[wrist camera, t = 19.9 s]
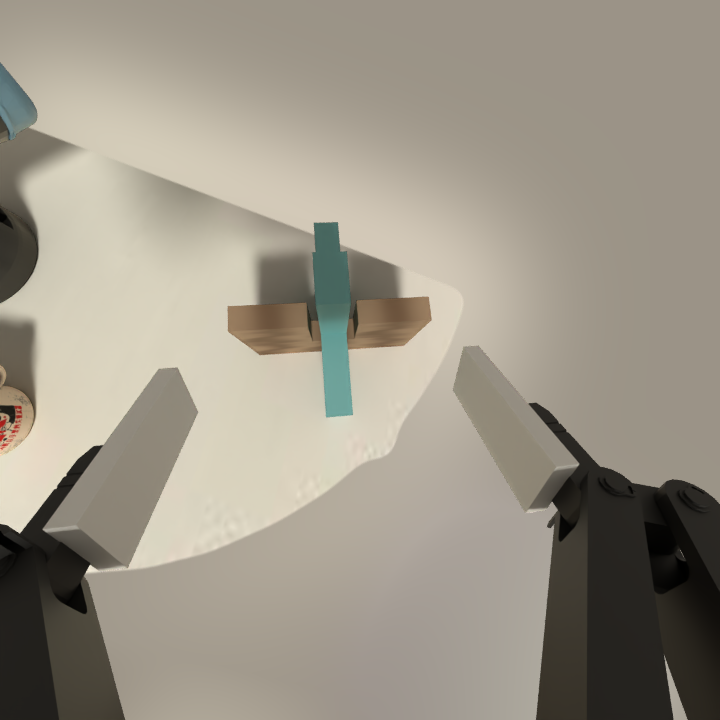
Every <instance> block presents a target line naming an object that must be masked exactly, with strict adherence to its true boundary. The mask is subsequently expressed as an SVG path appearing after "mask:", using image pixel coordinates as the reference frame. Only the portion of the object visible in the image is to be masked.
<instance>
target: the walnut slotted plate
mask: <svg viewBox="0 0 720 720" xmlns="http://www.w3.org/2000/svg"><path fill="white" fill-rule="evenodd" d="M431 320H432V319H431V311H430V304H429V297H414V298H393V299H372V300H357V301H356V305H355V310H354V315H353V319H349V320H348V326H347V346H348V349H360V348H375V347H391V346H404V345H405V344H406V343H407V342H408V341H409V340H410V339H412V338H413V337H414V336H415V335H416V334H417V333H418V332H419V331H420V330H421V329H422V328H423V327H425V326H426V325H427V324H428V323H429V322H430V321H431ZM228 332H229V333H231V334H232V335H234V336H235V337H236V338H238V339H239V340H240V341H242V342H243V343H244V344H246V345H247V346H248V347H250V348H251V349H253V350H254V351H255V352H257V353H258V354H259V355H268V354H283V353H298V352H314V351H322V343H321V332H320V326H319V321H311V318H310V314H309V311H308V307H307V303H289V304H268V305H247V306H228Z"/></svg>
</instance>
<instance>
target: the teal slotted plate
mask: <svg viewBox="0 0 720 720" xmlns="http://www.w3.org/2000/svg"><path fill="white" fill-rule="evenodd" d="M314 231H315V248H316V252H312V253H313V270H314V286H315V302H316V310H317V315H318V321H319V326H320V332H321V343H322V359H323V375H324V390H325V406H326V417H336V416H347V415H353V410H352V397H351V384H350V371H349V359H348V346H347V326H348V320H349V313H350V307H351V297H350V285H349V272H348V260H347V251H344V252H340V243H339V231H338V222H333V223H314Z"/></svg>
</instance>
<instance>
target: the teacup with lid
mask: <svg viewBox="0 0 720 720" xmlns="http://www.w3.org/2000/svg"><path fill="white" fill-rule="evenodd" d="M5 379H6V371H5V369H4V368H3V367H2V366H1V365H0V456H1V455H3V454H5V453H7V452H9V451H11V450H13V449H14V448H16V447H17V446H18V445H19V444H20V443H21V442H22V441H23V440H24V439H25V438H26V436H27V435H28V433H29V431H30V429H31V427H32V424H33V418H34V411H33V407H32V404H31V402H30V400H29V399H28V397H27V396H26V395H25V394H24V393H23V392H21V391H20V390H18V389H16V388H13V387H9V386H3V384H4V382H5Z"/></svg>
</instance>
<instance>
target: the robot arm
mask: <svg viewBox="0 0 720 720" xmlns="http://www.w3.org/2000/svg"><path fill="white" fill-rule="evenodd" d="M36 120H37V110H36V108H35V106H34V104H33V102H32V101H31V99H30V98H29V97H28V95H27V94H26V93H25V92H24V91H23V89H22V88H21V87H20V86H19V84H18V83H17V82H16V81H15V80H14V78H13V77H12V76H11V75H10V74H9V72H8V71H7V70H6V69H5V68H4V66H3V65H2V64H1V63H0V144H1V143H3V142H5V141H7V140H13V139H14V138H15V137H16V134H17V133H19V132H21V131H22V130H24V129H26V128H28V127H29V126H31V125H33V124H34V123H35V122H36ZM36 257H37V245H36V241H35V237H34V235H33V233H32V231H31V229H30V228H29V226H28V225H27V224H26V223H25V222H24V221H23V220H22V219H21V218H19V217H18V216H16V215H15V214H13V213H12V212H10V211H8V210H7V209H5V208H3V207H2V206H0V303H1V302H3V301H5V300H6V299H8V298H9V297H11V296H12V295H13V294H15V293H16V292H17V291H18V290H19V289H20V288H21V287H22V286H23V285H24V284H25V282H26V281H27V280H28V278H29V276H30V275H31V273H32V271H33V268H34V266H35V262H36ZM453 391H454V392H455V394H456V396H457V398H458V399H459V401H460V403H461V404H462V406H463V408H464V409H465V411H466V413H467V415H468V416H469V418H470V419H471V421H472V423H473V424H474V427H475V428H476V430H477V432H478V433H479V435H480V436H481V438H482V440H483V442H484V444H485V445H486V447H487V449H488V450H489V452H490V454H491V455H492V457H493V459H494V460H495V462H496V464H497V466H498V467H499V469H500V471H501V472H502V474H503V476H504V478H505V479H506V481H507V483H508V484H509V486H510V488H511V490H512V491H513V493H514V495H515V496H516V498H517V500H518V501H519V503H520V505H521V507H522V508H523V510H524V512H525V513H530V512H538V511H544V510H546V509H547V508H548V506H549V505H550V503H551V502H553V503H554V505H555V506H556V507H557V509H558V511H557V512H556V514H555V515H554V516H553V517H552V519H551V520H550V521H549V523H548V525H547V527H548V528H551V527H552V526H553V525H554V535H553V547H552V556H551V567H550V578H549V588H548V598H547V609H546V620H545V632H544V641H543V652H542V663H541V673H540V684H539V694H538V705H537V715H536V720H673V713H672V707H671V701H670V693H669V686H668V680H667V673H666V666H665V660H664V656H665V658H666V661H667V664H668V667H669V669H670V672H671V675H672V677H673V680H674V683H675V686H676V689H677V691H678V694H679V697H680V700H681V703H682V705H683V708H684V711H685V713H686V716H687V719H688V720H720V504H719V503H718V502H717V501H716V500H715V499H714V498H713V497H712V496H710V495H709V494H708V493H707V492H705V491H704V490H702V489H700V488H699V487H697V486H695V485H693V484H690V483H688V482H685V481H682V480H673V479H672V480H669V481H666V482H665V483H664V484H663V485H662V486H661V487H660V488H656V487H651V486H645V485H640V484H634V483H631V482H630V481H629V480H628V479H627V478H625V477H624V476H623V475H621V474H620V473H618V472H615V471H614V470H611V469H608V468H604V467H600V466H599V465H598V464H597V463H596V462H595V461H594V460H593V459H592V458H591V457H590V456H589V454H587V452H586V451H585V450H584V449H583V448H582V447H581V446H580V445H579V443H578V442H577V441H576V440H575V439H574V438H573V437H572V436H571V435H570V434H569V433H568V432H566V429H565V428H564V427H563V426H562V425H561V424H559V423H558V421H557V419H556V418H555V417H554V416H553V415H552V414H551V413H550V412H549V411H548V410H546V409H545V408H543V407H542V406H540V405H539V404H537V403H529V404H528V403H527V402H526V401H525V400H524V399H523V397H522V396H521V395H520V394H519V393H518V391H517V390H516V389H515V388H514V387H513V385H512V384H511V383H510V382H509V381H508V380H507V379H506V377H505V376H504V375H503V374H502V373H501V372H500V370H499V369H498V368H497V367H496V366H495V365H494V363H493V362H492V361H491V360H490V359H489V357H488V356H487V355H486V354H485V353H484V352H483V350H482V349H481V348H480V347H479V346H470V347H463V351H462V355H461V359H460V363H459V367H458V372H457V375H456V379H455V383H454V387H453ZM197 414H198V411H197V409H196V406H195V404H194V402H193V400H192V398H191V396H190V393H189V391H188V389H187V387H186V385H185V383H184V381H183V378H182V376H181V374H180V372H179V370H178V368H165V369H159V370H158V371H157V372H156V374H155V375H154V376H153V378H152V379H151V381H150V382H149V383H148V385H147V386H146V387H145V389H144V390H143V392H142V393H141V394H140V396H139V397H138V398H137V400H136V401H135V403H134V404H133V405H132V407H131V408H130V409H129V411H128V412H127V414H126V415H125V416H124V418H123V419H122V420H121V422H120V423H119V425H118V426H117V427H116V429H115V430H114V432H113V433H112V434H111V436H110V437H109V438H108V440H107V441H106V443H105V444H104V445H101V446H94V447H92V448H91V449H90V450H89V451H87V452H86V453H85V454H84V455H83V456H81V457H80V458H79V459H78V460H77V461H76V462H75V464H74V465H73V466H72V467H71V469H70V470H69V471H68V473H67V476H66V477H64V478H63V479H62V480H61V482H60V483H59V484H58V485H57V489H54V491H53V492H52V493H51V494H50V496H49V497H48V498H47V500H46V501H45V502H44V503H43V505H42V506H41V507H40V509H39V510H38V511H37V513H36V514H35V515H34V516H33V518H32V519H31V520H30V522H29V523H28V524H27V525H26V527H25V528H24V529H23V531H22V532H21V533H20V534H19V533H18V532H16V531H15V530H13V529H12V528H10V527H9V526H7V525H3V524H0V720H125V718H124V714H123V710H122V707H121V703H120V700H119V695H118V692H117V688H116V684H115V681H114V677H113V673H112V669H111V666H110V662H109V658H108V654H107V651H106V647H105V643H104V640H103V636H102V632H101V628H100V625H99V621H98V618H97V613H96V610H95V606H94V602H93V599H92V595H91V592H90V587H89V584H88V582H87V580H86V579H85V577H83V576H84V574H85V573H86V571H87V569H88V567H89V565H92V566H93V567H94V568H96V569H97V570H98V571H100V572H104V571H111V570H119V569H126V568H128V566H129V564H130V562H131V560H132V557H133V555H134V553H135V551H136V548H137V546H138V544H139V542H140V540H141V537H142V535H143V533H144V531H145V529H146V526H147V524H148V522H149V520H150V517H151V515H152V513H153V511H154V509H155V506H156V504H157V502H158V500H159V498H160V495H161V493H162V491H163V489H164V487H165V484H166V482H167V480H168V478H169V475H170V473H171V471H172V469H173V467H174V464H175V462H176V460H177V458H178V456H179V453H180V451H181V449H182V447H183V445H184V442H185V440H186V438H187V436H188V433H189V431H190V429H191V427H192V425H193V422H194V420H195V418H196V416H197ZM554 523H555V524H554ZM680 550H681V551H680ZM681 552H682V553H681ZM682 554H683V555H682ZM683 556H684V557H683Z"/></svg>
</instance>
